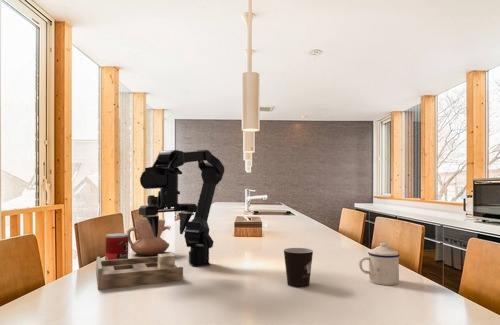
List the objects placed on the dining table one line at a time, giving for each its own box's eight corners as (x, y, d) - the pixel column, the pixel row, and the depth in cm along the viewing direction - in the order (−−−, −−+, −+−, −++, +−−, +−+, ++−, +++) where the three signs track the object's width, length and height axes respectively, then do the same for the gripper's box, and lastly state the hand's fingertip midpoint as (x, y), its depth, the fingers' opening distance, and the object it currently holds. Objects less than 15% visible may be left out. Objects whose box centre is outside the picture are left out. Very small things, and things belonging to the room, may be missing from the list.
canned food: (120, 268, 128) (121, 236, 129) (100, 267, 130) (101, 235, 131) (132, 263, 136) (132, 233, 137) (112, 262, 138) (113, 232, 138)
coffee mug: (294, 290, 103) (294, 254, 104) (278, 282, 111) (278, 249, 112) (327, 285, 109) (327, 250, 109) (309, 278, 116) (309, 246, 117)
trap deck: (169, 266, 131) (169, 251, 131) (182, 280, 112) (183, 262, 113) (96, 273, 121) (96, 256, 121) (97, 289, 103) (98, 269, 103)
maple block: (171, 267, 119) (171, 253, 120) (174, 270, 115) (174, 255, 116) (157, 268, 118) (157, 254, 118) (160, 271, 114) (160, 256, 114)
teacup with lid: (393, 278, 117) (393, 241, 118) (404, 286, 108) (403, 246, 109) (355, 277, 118) (355, 240, 118) (363, 285, 109) (362, 245, 109)
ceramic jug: (172, 250, 163) (172, 217, 163) (168, 256, 148) (168, 220, 149) (130, 251, 161) (130, 218, 161) (122, 258, 146) (122, 222, 147)
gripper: (181, 187, 134) (181, 230, 134) (132, 188, 122) (131, 235, 122) (198, 187, 126) (198, 233, 125) (146, 188, 114) (146, 239, 113)
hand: (168, 235), depth 121 cm, fingers open, 9 cm apart
